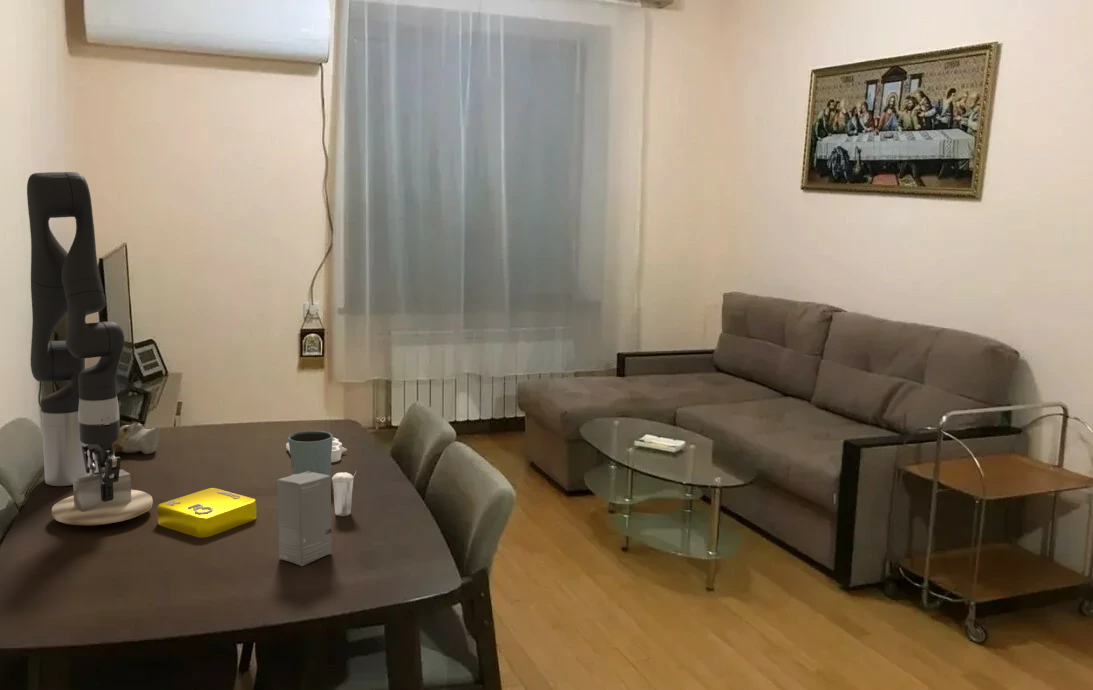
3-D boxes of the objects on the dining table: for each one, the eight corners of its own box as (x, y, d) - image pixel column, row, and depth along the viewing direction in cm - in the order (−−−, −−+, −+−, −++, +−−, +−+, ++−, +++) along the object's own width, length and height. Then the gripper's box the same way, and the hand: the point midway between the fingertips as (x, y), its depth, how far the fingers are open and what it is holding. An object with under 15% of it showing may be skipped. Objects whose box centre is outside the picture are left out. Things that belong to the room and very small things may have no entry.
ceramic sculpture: (146, 425, 229) (91, 425, 231) (149, 458, 230) (94, 458, 232) (168, 416, 240) (115, 416, 241) (171, 448, 241) (118, 448, 242)
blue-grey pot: (341, 485, 215) (341, 436, 213) (304, 494, 208) (303, 444, 206) (317, 475, 222) (317, 428, 220) (280, 483, 215) (279, 435, 213)
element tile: (260, 518, 192) (260, 497, 191) (202, 540, 179) (202, 517, 179) (212, 505, 200) (212, 484, 199) (153, 524, 187) (153, 502, 186)
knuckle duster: (283, 448, 245) (337, 444, 252) (296, 467, 229) (353, 461, 236) (283, 436, 245) (337, 432, 251) (296, 454, 229) (353, 449, 235)
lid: (37, 507, 188) (35, 475, 187) (129, 487, 202) (127, 457, 201) (74, 532, 176) (72, 498, 175) (168, 509, 190) (167, 477, 189)
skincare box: (301, 567, 167) (300, 485, 165) (275, 558, 171) (273, 478, 168) (334, 553, 174) (334, 474, 172) (308, 545, 178) (307, 467, 176)
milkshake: (351, 518, 193) (351, 473, 192) (328, 516, 194) (328, 471, 193) (360, 511, 198) (360, 467, 196) (337, 509, 199) (337, 465, 197)
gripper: (66, 414, 188) (70, 493, 191) (94, 428, 178) (98, 511, 181) (103, 408, 193) (106, 485, 196) (132, 422, 184) (136, 502, 187)
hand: (102, 497), depth 189 cm, fingers closed on lid, 4 cm apart
